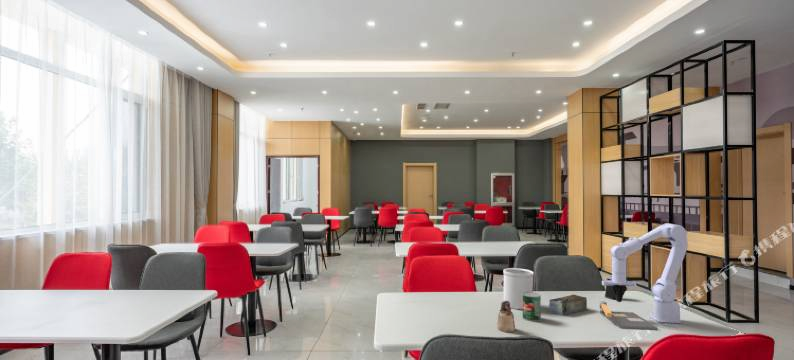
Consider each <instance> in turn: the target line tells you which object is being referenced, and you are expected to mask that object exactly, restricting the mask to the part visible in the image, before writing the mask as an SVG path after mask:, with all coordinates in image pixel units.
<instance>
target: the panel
mask: <svg viewBox="0 0 794 360" xmlns="http://www.w3.org/2000/svg"><path fill="white" fill-rule="evenodd" d="M599 308H600V307H599ZM610 311H611V313H612V317H607V316H606V314H605V313H604V311H603V309H601V308H600V310H599V313H600V314H601V316H602V317H605V318H606V319H607V320H609V321H610V322H611V323H612V324H614V325H616V326H617V327H618V328H619V329H629V330H650V331H651V330H652V331H653V330H655V331H656V330H658V327H657V326H656V325H654V324H652V323H651V322H649V321H648V320H646V319H644V318H643V317H641V316H639V315H638V314H637V313H635V312H633V311H632V312H631V311H613V310H610Z"/></svg>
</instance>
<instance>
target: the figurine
mask: <svg viewBox="0 0 794 360" xmlns="http://www.w3.org/2000/svg"><path fill="white" fill-rule="evenodd" d="M497 317H498V318H497V330H498V331H501V332H505V333H512V332H515V330H516V322H515V315H514V313H513V311H512V308H511V307H510V302H509V301H504V300H503V301H502V302H501V303H500V310H499V313H498V316H497Z"/></svg>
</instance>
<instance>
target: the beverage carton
mask: <svg viewBox="0 0 794 360" xmlns="http://www.w3.org/2000/svg"><path fill="white" fill-rule="evenodd" d="M587 300H588V299H587V297H586V296H581V295H577V294H570V295H566V296H562V297H556V298H552V299H551V298H550V299H549V301H548V302H549V304H548V305H549V312H550V313H554V314H557V315H560V316H567V315H570V314H575V313H579V312H581V311H585V310H588V305H587V304H588V303H587V302H588V301H587Z"/></svg>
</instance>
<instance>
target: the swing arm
mask: <svg viewBox="0 0 794 360" xmlns="http://www.w3.org/2000/svg"><path fill="white" fill-rule="evenodd" d="M607 304H608V303H607V302H606V301H599V308H601V309H603V311H604V313H605V314H606V316H607V317H612V313H611V311H612V310H610V308H609V307H608V305H607Z"/></svg>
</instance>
